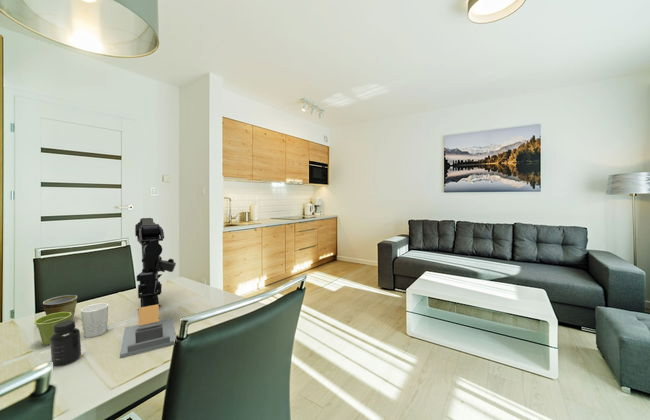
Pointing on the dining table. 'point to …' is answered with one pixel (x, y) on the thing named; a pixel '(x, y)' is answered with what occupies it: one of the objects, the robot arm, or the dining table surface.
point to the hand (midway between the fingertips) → (152, 293)
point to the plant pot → (50, 324)
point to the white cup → (94, 319)
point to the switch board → (147, 338)
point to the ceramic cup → (61, 305)
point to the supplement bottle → (65, 343)
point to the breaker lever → (148, 317)
